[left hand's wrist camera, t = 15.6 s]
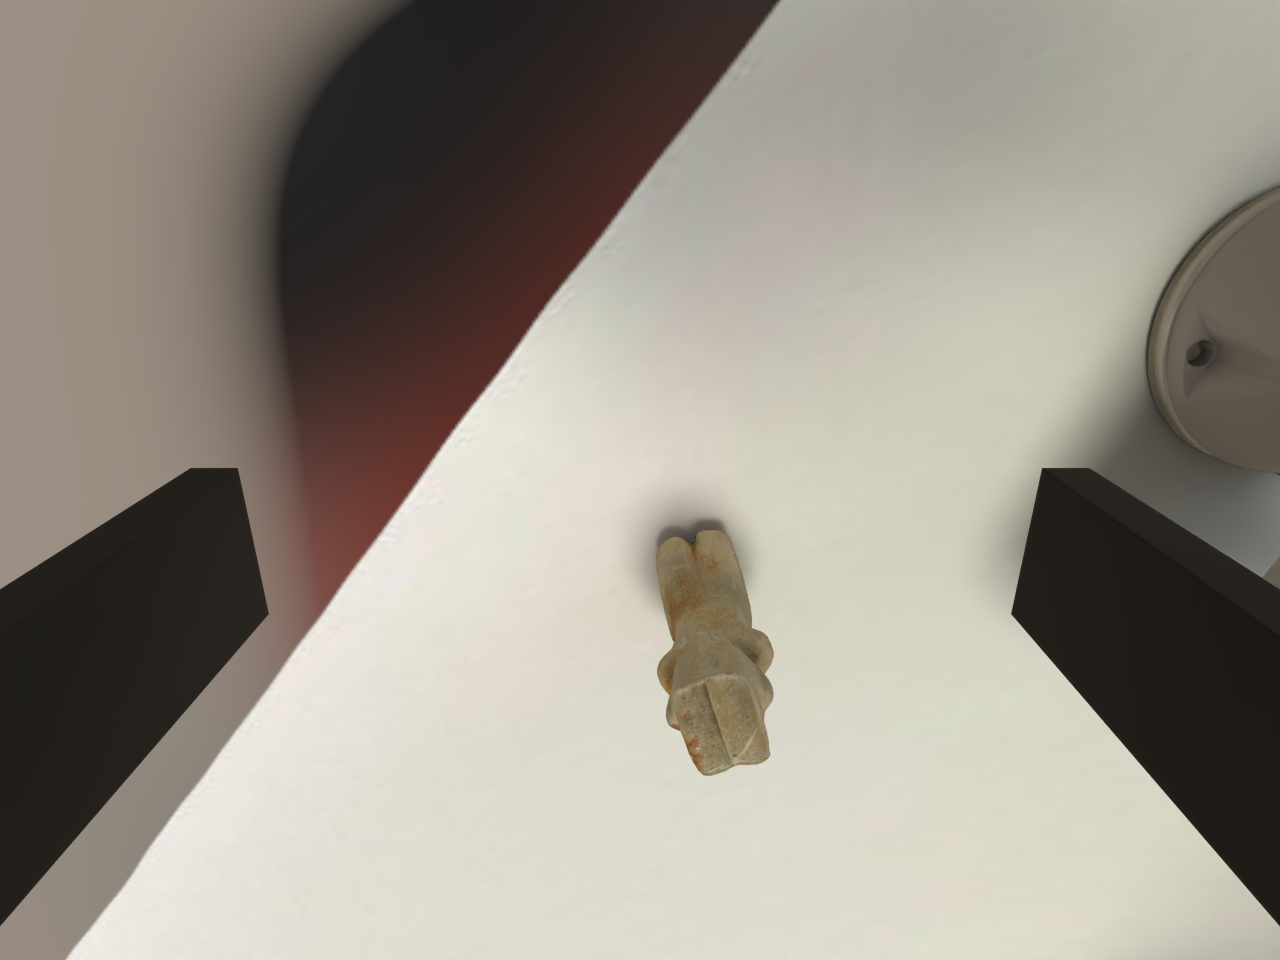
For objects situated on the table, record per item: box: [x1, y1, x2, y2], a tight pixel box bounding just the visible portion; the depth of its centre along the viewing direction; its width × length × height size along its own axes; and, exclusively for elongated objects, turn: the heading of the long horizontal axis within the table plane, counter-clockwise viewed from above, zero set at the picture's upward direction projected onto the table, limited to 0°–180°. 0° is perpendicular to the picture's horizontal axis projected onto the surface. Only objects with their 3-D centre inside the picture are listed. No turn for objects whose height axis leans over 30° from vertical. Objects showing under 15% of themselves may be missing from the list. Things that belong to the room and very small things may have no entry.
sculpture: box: [656, 530, 774, 776], centre depth 39 cm, size 6×7×15 cm
